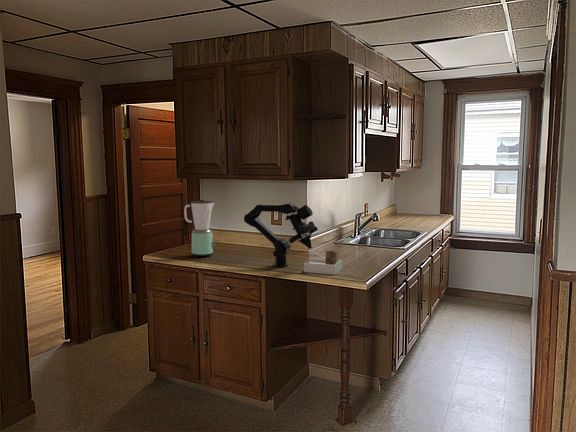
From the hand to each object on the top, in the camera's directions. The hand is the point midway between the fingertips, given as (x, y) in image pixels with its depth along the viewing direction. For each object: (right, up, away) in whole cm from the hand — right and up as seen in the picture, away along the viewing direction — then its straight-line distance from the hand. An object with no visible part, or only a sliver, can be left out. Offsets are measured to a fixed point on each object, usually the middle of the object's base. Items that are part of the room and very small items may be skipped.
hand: (310, 248), depth 268 cm
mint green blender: (-67, -7, +36) cm, 76 cm away
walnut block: (+12, -9, -1) cm, 15 cm away
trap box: (+7, -12, -2) cm, 14 cm away
